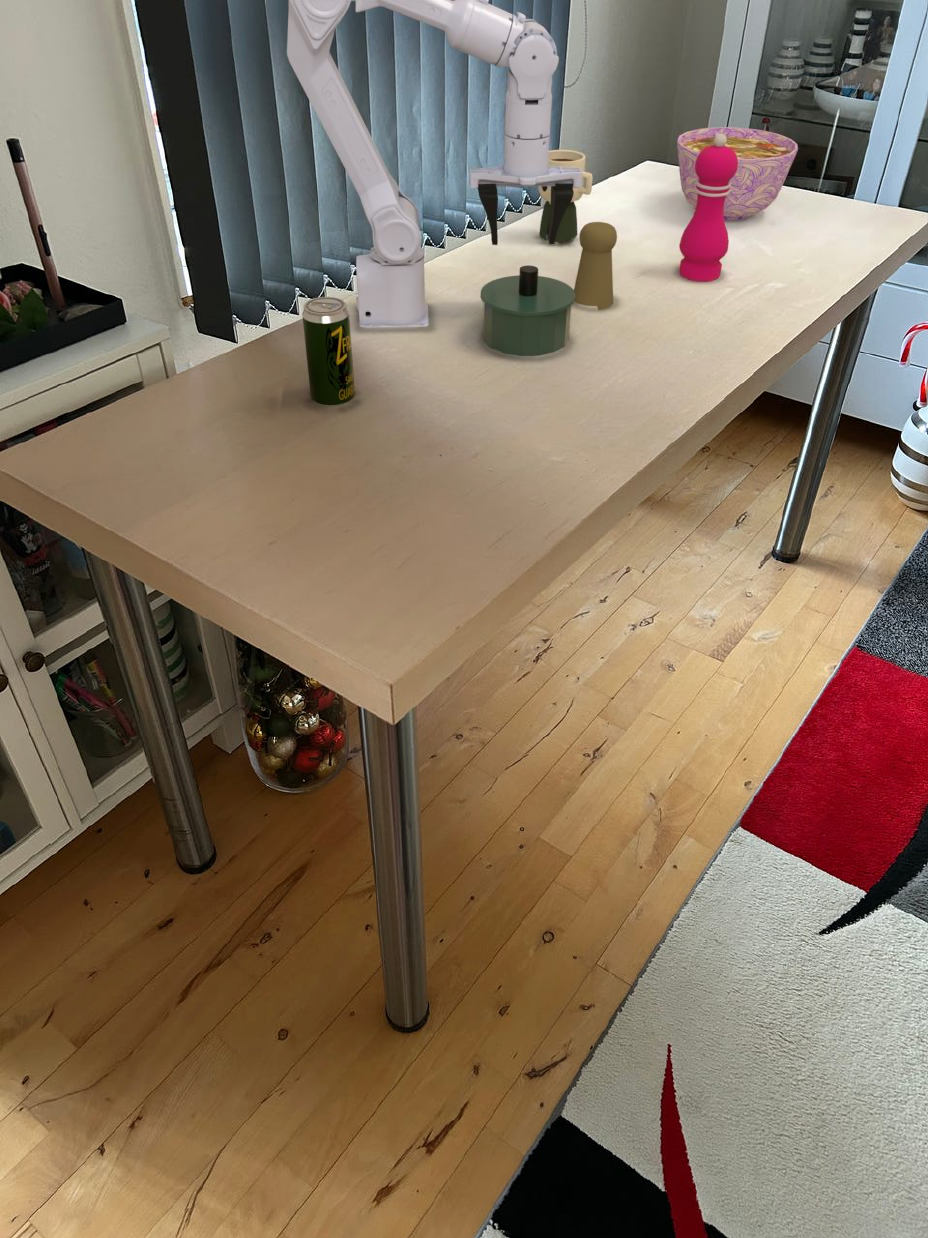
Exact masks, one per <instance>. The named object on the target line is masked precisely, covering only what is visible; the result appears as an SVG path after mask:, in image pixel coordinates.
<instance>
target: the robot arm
mask: <svg viewBox="0 0 928 1238" xmlns="http://www.w3.org/2000/svg"><path fill="white" fill-rule="evenodd" d="M489 1H490V0H288V15H287V16H288V18H287V37H286V38H287V39H286V57H287V59H288V62H289V64H290V66H291V68H292V70H293V72H294V74H295V76H296V77H297V80H298V81H299V83H300V86H301V87H302V89H303V92H304V93H305V95H306V97H307V98H308V100H309V102H310V104H311V106H312V108H313V110H314V112H315V114H316V116H317V118H318V119H319V121H320V124H321V125H322V127H323V129H324V131H325V133H326V135H327V137H328V139H329V141H330V143H331V144H332V146H333V148H334V150H335V152H336V155H337V156H338V158H339V160H340V161H341V164H342V165H343V167H344V169H345V171H346V173H347V175H348V177H349V180H350V181H351V183H352V185H353V187H354V189H355V190H356V193H357V195H358V197H359V198H360V199H359V200H360V202H361V206H362V208H363V210H364V214H365V217H366V219H367V221H368V223H369V225H370V228H371V231H372V232H371V233H372V245H373V246H372V247H371V248H370V253H366V254H359V255H356V260H355V262H356V263H355V266H356V267H355V269H356V293H357V296H356V310H357V311H358V321H359V325H358V326H359V327H360V328H413V327H415V328H416V327H418V328H419V327H420V328H421V327H428V326H429V325H430V324H429V304H428V303H426V287H425V284H426V283H425V250H424V249H423V247H422V234H421V233H422V232H421V229H420V225H419V221H420V215H419V210H418V207H417V206H416V204H415V202H414V201H413V200H412V199H411V198H409V197H408V196H407V195H405V193H403V191H401V189H400V187H399V185H398V183H397V181H396V180H395V178H394V177H393V176H392V175H391V174H390V171H389V170H388V168H387V165H386V163H385V161H384V159H383V158H382V155H381V154H380V151H379V149H378V148H377V145H376V143H375V142H374V139H373V138H372V136H371V134H370V131H369V129H368V127H367V126H366V123H365V122H364V120H363V119H364V118H362V115H361V112H360V111H359V109H358V107H357V105H356V102H355V101H354V99H353V97H352V95H351V93H350V91H349V89H348V87H347V85H346V83H345V81H344V79H343V77H342V75H341V72H340V70H339V68H338V67H337V64H336V63H335V61H334V58H333V57H332V54H331V52H330V49H331V46H332V42H333V39H334V35H335V32H336V31H335V30H336V28H337V26H338V25H339V23H340V22H341V21H342V20H343V18H344V16H345V14H346V13H347V11H348V9H349V8H350V5H351V2H355V13H361V12H365V11H368V10H371V9H375V8H379V7H382V8H385V9H388V10H390V11H393V12H395V13H398V14H400V15H403V16H406V17H408V18H411V19H413V20H416V21H419V22H420V23H423V24H425V25H428V26H431V27H434V28H436V29H439V30H442V31H444V34H445V36H446V39H447V41H448V44H449V46H450V47H451V48H453V49H455V50H457V51H459V52H462V53H464V54H466V55H469V56H470V57H473V58H476V59H477V60H481V61H483V62H485V63H487V64H489V65H492V66H495V67H496V68H504V67H506V68H507V67H508V68H509V69H508V72H507V91H506V93H505V113H504V115H505V116H504V150H503V151H504V152H503V153H504V154H503V157H504V158H503V165H497V166H496V165H495V166H488V167H478V168H477V167H476V168H469V172H468V173H469V177H468V179H469V180H468V183H469V188H470V189H477V193H478V197H479V200H480V202H481V204H482V207H483V209H484V213H485V215H486V217H487V221H488V225H489V229H490V235H491V237H490V238H491V245H492V246H498V243H499V234H498V233H499V232H498V209H499V208H498V206H499V196H498V187H500V188H501V187H505V188H506V187H507V188H508V187H539V186H551V209H550V220H549V228H548V235H547V240H548V244H549V245H555V244H556V242H555V239H556V235H557V231H558V228H559V225H560V222H561V220H562V218H563V215H564V213H565V211H566V209H567V207H568V206H569V204H570V202H571V201H572V198H573V195H574V191H573V187H574V188H581V187H582V174H583V172H582V170H581V168H569V167H558V166H548V161H549V151H550V142H551V123H552V105H553V94H552V86H553V75H554V73H555V72H556V70H557V68H558V65H559V61H560V57H559V56H558V50H557V46H556V42H555V40H554V39H553V37H552V36H551V34H550V33H549V32H548V31H547V29H546V28H545V27H544V26H543V25H542V24H540V23H538V22H537V21H536V19H534V18H527V16H526V15H525V14H524V13H521V12H519V11H517V12H516V15H515V14H512V13H510V12H508V11H506V10H503V9H502V8H500V7H497V6H495V5H493V4H491V3H489Z"/></svg>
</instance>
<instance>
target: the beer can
mask: <svg viewBox="0 0 928 1238" xmlns="http://www.w3.org/2000/svg"><path fill="white" fill-rule="evenodd" d="M302 305H303V310H302V313H301V315H302V316H301V317H302V325H303V333H304V344H305V355H306V364H307V374H308V383H309V393H310V399H311V401H312V402H313V403H315V404H316V405H319V406H321V407H329V408H332V407H340V406H345V405H347V404H350V402H352V401H353V400H354V398H355V396H356V389H355V388H356V387H355V375H354V374H355V373H354V361H353V350H352V348H353V347H352V333H351V321H350V312H349V309H348V307H347V302H346V301H345V300H344V299H342V298H339V297H334V296H319V297H314V298H311V299H309V300H307V301H306V302H305V303H303V304H302Z"/></svg>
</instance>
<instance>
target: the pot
mask: <svg viewBox="0 0 928 1238" xmlns="http://www.w3.org/2000/svg"><path fill="white" fill-rule="evenodd" d="M482 303H483V302H482ZM482 308H483V309H482V310H483V311H482V337H483V342H484V343H485V344H486V345H487V346H488V347H489V348H490V349H492V350H495V351H497V352H500V353H502V354H505V355H511V356H519V357H539V356H543V355H544V356H545V355H548V354H549V355H550V354H553V353H555V352H557V351H559V350H561V349H563V348H565V347H566V345H567V344H568V342H569V340H570V327H571V316H572V315H571V314H572V313H571V312H572V305H571V306H570V307H569V308H567V309H565V310H563V311H560V312H557V313H553V314H548V315H539V316H522V315H513V314H507V313H503V312H500V311H497V310H494V309H492V308H490V307H488V306H487V305H486V304H485V303H483V307H482Z"/></svg>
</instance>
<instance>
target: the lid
mask: <svg viewBox="0 0 928 1238" xmlns="http://www.w3.org/2000/svg"><path fill="white" fill-rule="evenodd" d="M480 300H481V301H482V303H485V304H486V305H487V306H488V307H490V308H492V309H494V310H497V311H500V312H503V313H507V314H513V315H522V316H539V315H548V314H553V313H557V312H560V311H563V310H565V309H567V308H569V307H570V306H571V307H572V305H573V304H574V303H575V292H574V288H573V287H572V286H571V285H569V284H568V283H566V282H565V281H564V282H563V281H562V280H559V279H557V278H556V279H555V278H553V277H547V276H541V275H539V268H538V267H537V266H535V265H529V264H528V265H522V266H520V267H519V273H518V275H508V276H503V277H499V278H496V279H493V280H491V281H489V282H487V283H486V284H485V285H483V286H482V288H481V290H480Z"/></svg>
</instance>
